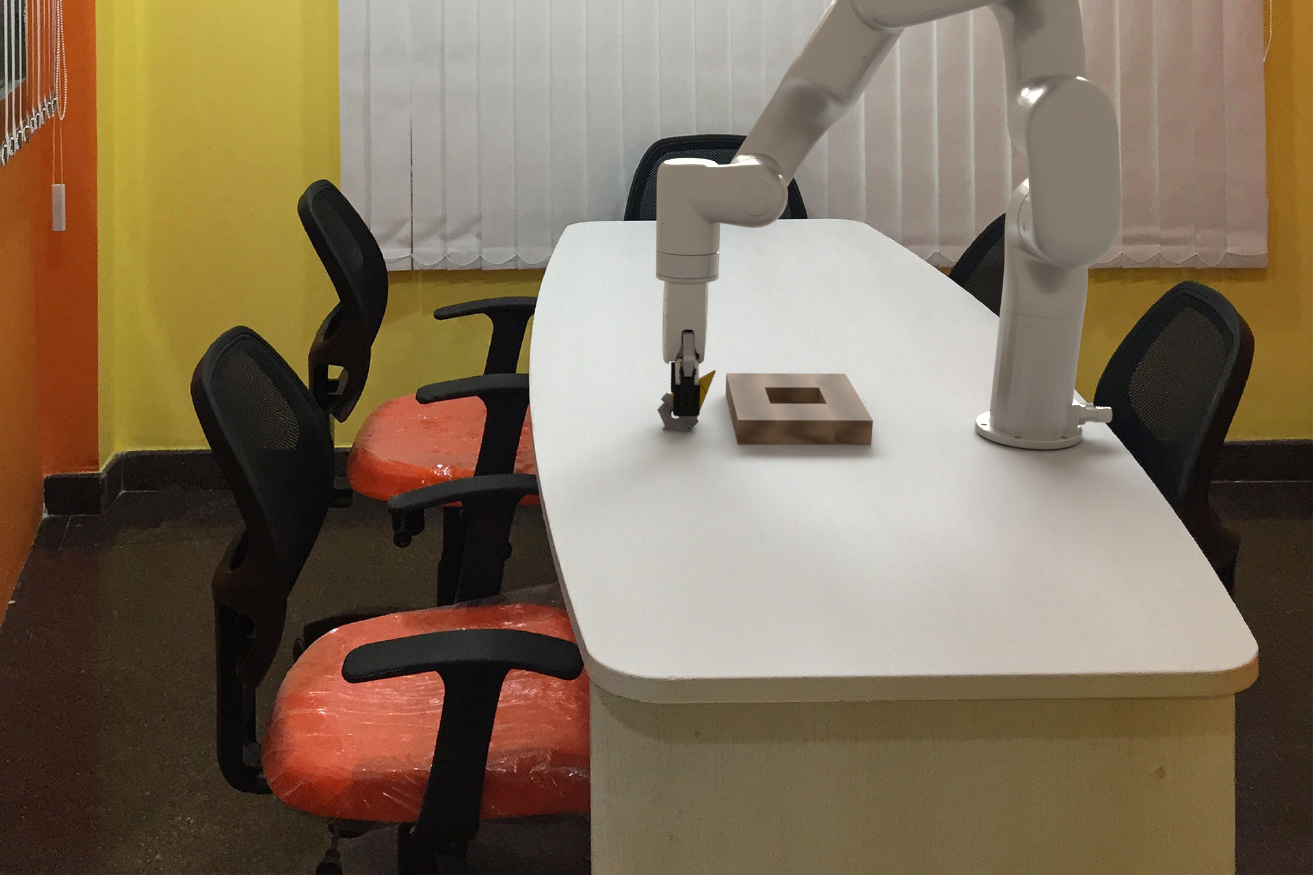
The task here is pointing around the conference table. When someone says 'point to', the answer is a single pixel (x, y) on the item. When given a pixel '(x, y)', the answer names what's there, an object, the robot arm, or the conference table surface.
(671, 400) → the drill bit
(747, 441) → the holder block
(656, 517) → the conference table surface
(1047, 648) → the conference table surface
